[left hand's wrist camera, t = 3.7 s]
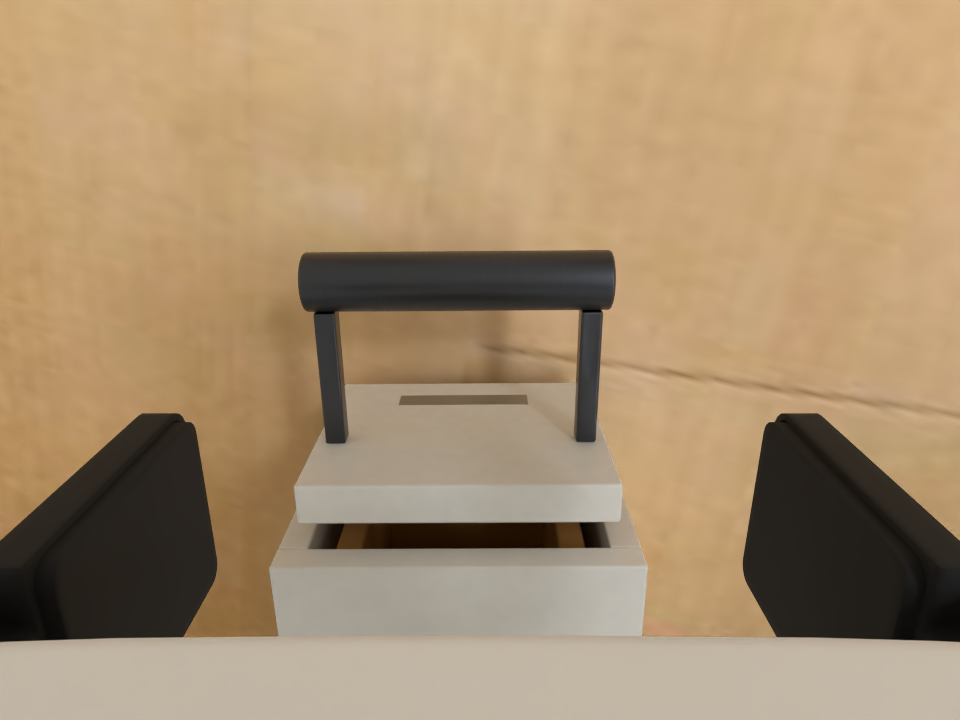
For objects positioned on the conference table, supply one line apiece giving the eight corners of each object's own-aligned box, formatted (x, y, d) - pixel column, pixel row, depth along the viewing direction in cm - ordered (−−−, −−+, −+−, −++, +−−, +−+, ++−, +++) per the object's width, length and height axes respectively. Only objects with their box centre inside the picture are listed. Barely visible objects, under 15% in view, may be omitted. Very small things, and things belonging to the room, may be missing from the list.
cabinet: (337, 419, 26) (267, 568, 18) (595, 417, 26) (649, 566, 18) (367, 755, 33) (326, 985, 24) (576, 754, 32) (609, 985, 24)
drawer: (331, 226, 23) (266, 276, 16) (592, 224, 23) (639, 273, 16) (373, 724, 31) (341, 899, 24) (568, 723, 31) (593, 899, 24)
